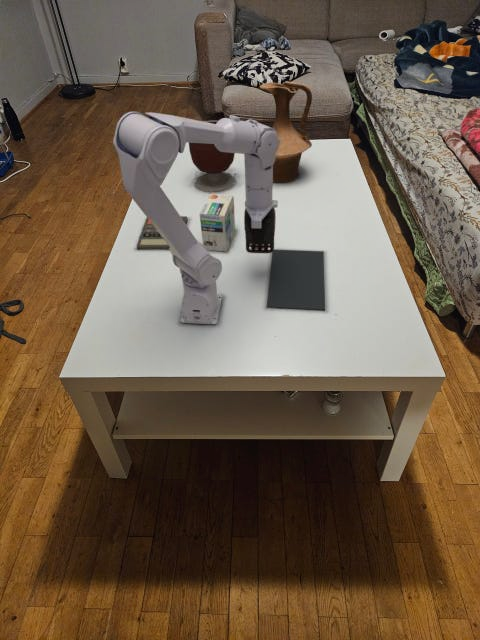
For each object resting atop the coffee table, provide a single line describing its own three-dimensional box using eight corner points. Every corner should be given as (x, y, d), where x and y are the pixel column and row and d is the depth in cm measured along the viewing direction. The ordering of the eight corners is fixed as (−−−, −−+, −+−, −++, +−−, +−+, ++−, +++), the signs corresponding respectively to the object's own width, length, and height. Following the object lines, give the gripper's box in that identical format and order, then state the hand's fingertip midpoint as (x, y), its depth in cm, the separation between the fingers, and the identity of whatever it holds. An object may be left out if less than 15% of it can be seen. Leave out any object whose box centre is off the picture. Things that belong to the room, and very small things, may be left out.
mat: (325, 310, 101) (325, 309, 101) (266, 307, 103) (266, 306, 102) (323, 252, 117) (323, 251, 117) (272, 250, 118) (272, 249, 118)
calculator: (187, 215, 130) (180, 246, 119) (187, 218, 131) (180, 249, 120) (147, 216, 131) (136, 246, 120) (147, 218, 131) (136, 249, 120)
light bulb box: (227, 252, 118) (225, 216, 111) (202, 250, 119) (198, 214, 112) (235, 230, 126) (234, 194, 118) (212, 228, 127) (209, 192, 119)
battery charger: (244, 255, 105) (242, 211, 98) (245, 246, 108) (244, 202, 100) (274, 256, 105) (275, 211, 97) (274, 246, 108) (276, 202, 100)
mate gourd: (238, 173, 150) (236, 110, 136) (233, 193, 140) (230, 128, 126) (192, 172, 152) (185, 109, 138) (184, 192, 142) (176, 127, 128)
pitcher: (310, 164, 153) (317, 73, 134) (308, 189, 141) (315, 92, 121) (258, 162, 155) (257, 72, 136) (251, 186, 143) (250, 91, 124)
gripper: (276, 201, 89) (275, 257, 99) (279, 167, 99) (278, 221, 109) (240, 200, 90) (242, 256, 99) (247, 167, 100) (248, 220, 110)
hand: (259, 238), depth 104 cm, fingers closed on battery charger, 4 cm apart
